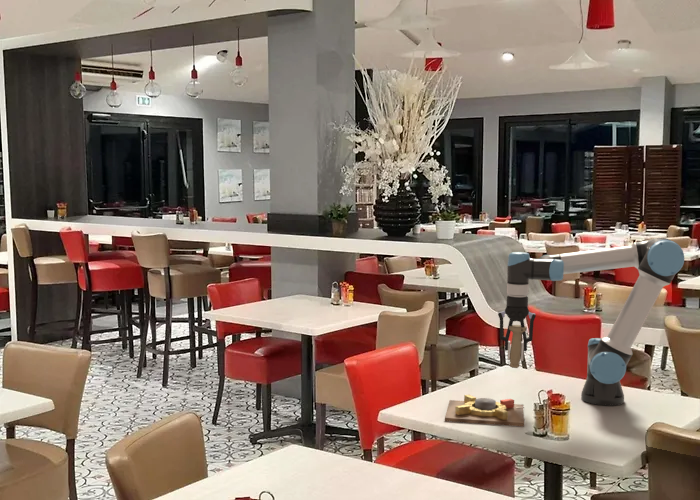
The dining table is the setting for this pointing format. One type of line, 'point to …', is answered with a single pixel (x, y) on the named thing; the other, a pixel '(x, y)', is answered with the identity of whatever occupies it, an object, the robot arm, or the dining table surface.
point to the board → (486, 404)
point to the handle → (516, 345)
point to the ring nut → (470, 409)
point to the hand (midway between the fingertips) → (515, 359)
